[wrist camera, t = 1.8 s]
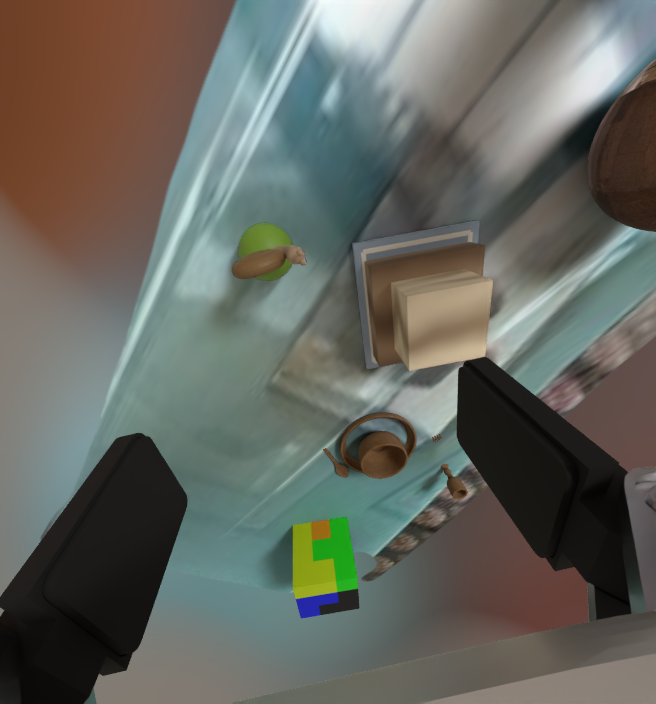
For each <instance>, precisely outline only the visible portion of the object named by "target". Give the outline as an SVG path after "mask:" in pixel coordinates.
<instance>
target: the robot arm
mask: <svg viewBox="0 0 656 704" xmlns="http://www.w3.org/2000/svg"><path fill="white" fill-rule="evenodd" d="M457 438H458V441H459V444H460V445H461V447H462V448H463V450H464V451H465V453H466V454H467V456H468V457H469V458H470V460H471V461H472V463H473V464H474V466H475V467H476V469H477V470H478V471H479V473H480V474H481V476H482V477H483V479H484V480H485V482H486V483H487V484H488V486H489V487H490V488H491V490H492V492H493V493H494V494H495V496H496V497H497V499H498V500H499V502H500V503H501V505H502V506H503V507H504V509H505V510H506V512H507V513H508V515H509V516H510V517H511V519H512V520H513V522H514V523H515V525H516V526H517V528H518V529H519V531H520V532H521V533H522V535H523V536H524V538H525V539H526V541H527V542H528V543H529V545H530V546H531V548H532V549H533V551H535V553H536V554H537V555H538V556H539V557H541V558H546V559H547V560H548V562H549V563H550V565H551V566H552V568H553V569H554V570H555V571H558V570H562V569H567V568H571V567H575V568H576V569H577V570H578V572H579V573H580V574H581V576H582V577H583V578H584V579H585V581H586V582H587V591H588V608H589V609H588V610H589V622H586V623H581V624H576V625H571V626H566V627H562V628H556V629H552V630H547V631H542V632H537V633H532V634H527V635H523V636H518V637H514V638H510V639H505V640H501V641H497V642H493V643H488V644H483V645H479V646H475V647H470V648H466V649H461V650H457V651H453V652H448V653H444V654H440V655H435V656H431V657H426V658H422V659H418V660H413V661H409V662H405V663H400V664H396V665H391V666H387V667H383V668H379V669H374V670H370V671H366V672H361V673H357V674H353V675H349V676H345V677H340V678H336V679H331V680H327V681H323V682H319V683H314V684H310V685H306V686H302V687H298V688H293V689H289V690H285V691H280V692H276V693H272V694H267V695H263V696H259V697H255V698H250V699H246V700H242V701H238V702H234V703H230V704H656V467H640V468H637V469H634V470H631V471H630V472H627V471H626V470H625V469H624V468H622V467H621V466H620V465H619V462H617V461H616V460H615V459H614V458H612V457H611V456H610V455H609V454H607V453H606V452H605V451H604V450H602V449H601V448H600V447H599V446H597V445H596V444H595V443H594V442H592V441H591V440H590V439H589V438H587V437H586V436H585V435H584V434H582V433H581V432H580V431H579V430H577V429H576V428H575V427H573V426H572V425H571V424H570V423H568V422H567V421H566V420H565V419H564V418H562V417H561V416H560V415H559V414H557V413H556V412H555V411H554V410H552V409H551V408H550V407H549V406H547V405H546V404H545V403H544V402H542V401H541V400H540V399H539V398H537V397H536V396H535V395H534V394H532V393H531V392H530V391H529V390H527V389H526V388H525V387H524V386H522V385H521V384H520V383H519V382H517V381H516V380H515V379H514V378H512V377H511V376H510V375H509V374H507V373H506V372H505V371H504V370H502V369H501V368H500V367H499V366H497V365H496V364H495V363H493V362H492V361H491V360H490V359H488V358H487V357H482V358H478V359H473V360H469V361H466V362H464V364H463V367H460V368H459V371H458V404H457ZM187 502H188V501H187V495H186V493H185V492H184V490H183V488H182V487H181V485H180V484H179V482H178V480H177V479H176V477H175V476H174V474H173V472H172V471H171V469H170V468H169V466H168V465H167V463H166V461H165V460H164V458H163V457H162V455H161V453H160V452H159V450H158V449H157V447H156V445H155V444H154V442H153V441H152V439H151V438H150V437H148V436H145V435H144V434H142V433H136V434H131V435H127V436H122V437H119V438H117V439H116V440H115V441H114V442H113V444H112V445H111V446H110V448H109V449H108V450H107V452H106V453H105V454H104V456H103V457H102V459H101V460H100V461H99V463H98V464H97V465H96V467H95V468H94V470H93V471H92V472H91V474H90V475H89V476H88V478H87V479H86V480H85V482H84V483H83V485H82V486H81V487H80V489H79V490H78V491H77V493H76V494H75V495H74V497H73V498H72V500H71V501H70V502H69V504H68V505H67V506H66V508H65V509H64V510H63V512H62V513H61V515H60V516H59V517H58V519H57V520H56V521H55V523H54V524H53V526H52V527H51V528H50V530H49V531H48V532H47V534H46V535H45V536H44V538H43V539H42V541H41V542H40V543H39V545H38V546H37V547H36V549H35V550H34V552H33V553H32V554H31V556H30V557H29V558H28V560H27V561H26V562H25V564H24V565H23V566H22V568H21V569H20V571H19V572H18V573H17V575H16V576H15V577H14V579H13V580H12V582H11V583H10V584H9V586H8V587H7V589H6V590H5V591H4V592H3V594H2V595H1V597H0V608H2V609H3V610H5V611H4V612H3V613H2V615H1V616H0V704H96V698H95V693H94V689H93V687H94V685H95V682H96V680H97V677H98V675H99V674H101V675H102V676H104V675H109V674H113V673H117V672H121V671H126V670H127V667H128V665H129V662H130V659H131V656H132V653H133V652H134V651H135V650H136V649H137V648H138V647H139V645H140V643H141V640H142V638H143V635H144V632H145V629H146V626H147V623H148V620H149V617H150V614H151V611H152V608H153V605H154V602H155V599H156V597H157V594H158V590H159V588H160V585H161V582H162V579H163V576H164V573H165V570H166V567H167V564H168V561H169V558H170V555H171V552H172V549H173V546H174V543H175V540H176V537H177V535H178V532H179V529H180V526H181V523H182V520H183V517H184V514H185V511H186V508H187Z"/></svg>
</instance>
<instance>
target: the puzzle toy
mask: <svg viewBox="0 0 656 704" xmlns="http://www.w3.org/2000/svg"><path fill="white" fill-rule="evenodd" d="M293 591H294V594H295V598H296V602H297V605H298V609H299V612H300V616H301V618H306V617H312V616H317V615H323V614H330V613H335V612H341V611H347V610H353V609H359V597H358V582H357V573H356V568H355V562H354V556H353V550H352V544H351V538H350V532H349V526H348V521H347V517H343V518H336V519H330V520H323V521H317V522H310V523H304V524H297V525H293Z"/></svg>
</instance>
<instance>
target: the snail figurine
mask: <svg viewBox="0 0 656 704" xmlns="http://www.w3.org/2000/svg"><path fill="white" fill-rule="evenodd" d="M238 253H239V258H240V260H238V261H237V262H235V263H234V264H233V266H232V273H233V275H234V276H235V277H237V278H239V279H249V278H254V277H255V278H257V279H260V280H265V281H271V280H276V279H278V278H281V277H282V276H284V275H285V274H286V273H287V272H288V271H289V269H290V268H291V266H292V264H299V263H300V264H301V265H306V263H307V261H306V259H305V252H304V251H303V250H302V248H300V247H296V246H294V245H293V244H292V241H291V239H290V237H289V236H288V234H287V233H286V232H285V231H284V230H283V229H281V228H280V227H278V226H276V225H274V224H270V223H259V224H255V225H253V226H251V227H250V228H248V229H247V230H246V231H245V232H244V233H243V235H242V237H241V239H240V242H239V246H238Z"/></svg>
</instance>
